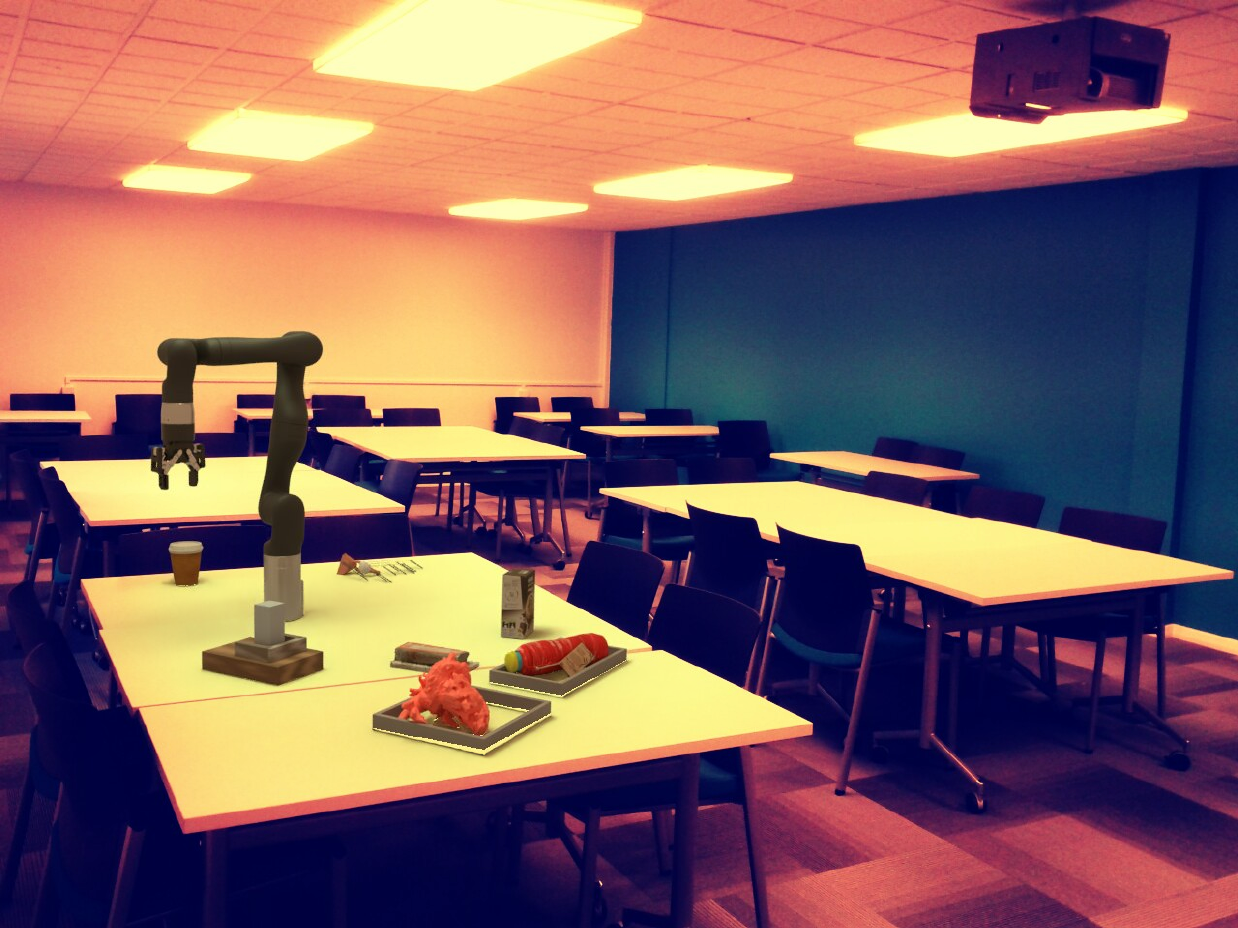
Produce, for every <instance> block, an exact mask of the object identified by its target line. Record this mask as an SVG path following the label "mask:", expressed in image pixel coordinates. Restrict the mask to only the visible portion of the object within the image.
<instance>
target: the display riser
mask: <svg viewBox="0 0 1238 928" xmlns="http://www.w3.org/2000/svg"><path fill="white" fill-rule="evenodd" d="M307 641H308V638H307V637H306V636H300V635H295V634H290V633H286V632H285V642H283V643H280V644H277V645H273V646H265V645H260V644H255V643H254V637H253V636H249V637H245V638H242V639H239V640H235V641H232V642H229V643H226V644H222V645H219V646H216V647H212V648H209V649H206V650H202V651H201V668H202V670H204V671H210V672H214V673H217V674H223V675H226V676H230V677H231V676H232V677H235V678H241V679H244V678H246V679H245V680H249V679H250V680H249V681H253V680H254V682H258V681H259V682H260V683H263V684H268V685H273V686H276V687H279V686H281V685H283V684H286V683H289V682H292V681H295V680H297V679H299V678H302V677H306V676H308V675H310V674H314V673H315V672H319V671H322V670H323V669H324V651H323V650H318V649H313V648H308V647H307ZM296 678H297V679H296ZM294 679H295V680H294Z"/></svg>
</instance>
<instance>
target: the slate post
mask: <svg viewBox="0 0 1238 928" xmlns="http://www.w3.org/2000/svg"><path fill="white" fill-rule="evenodd" d="M253 605H254V606H253V611H254V612H253V620H254V621H253V623H254V624H253V626H254V627H253V628H254V629H253V630H254V631H253V633H254V634H253V635H254V637H253V638H254V643H255V644H260V645H265V646H273V645H277V644H280V643H283V642H285V633H286V632H285V631H286V627H285V626H286V625H285V624H286V623H285V622H286V621H285V603H280V602H275V601H266V602H264V601H263V602H260V603H259V602H258V603H255V604H253Z"/></svg>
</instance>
